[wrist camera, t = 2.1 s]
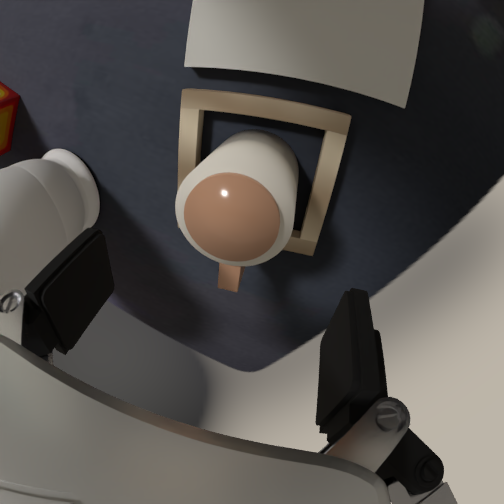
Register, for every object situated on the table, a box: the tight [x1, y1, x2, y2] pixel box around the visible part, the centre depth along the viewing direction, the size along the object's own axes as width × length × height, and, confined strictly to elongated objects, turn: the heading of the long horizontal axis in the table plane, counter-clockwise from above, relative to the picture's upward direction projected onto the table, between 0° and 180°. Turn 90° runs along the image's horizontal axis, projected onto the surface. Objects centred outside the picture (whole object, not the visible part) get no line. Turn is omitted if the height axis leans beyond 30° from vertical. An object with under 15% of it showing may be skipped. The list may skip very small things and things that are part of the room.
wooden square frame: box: [178, 89, 351, 256], centre depth 18 cm, size 10×10×1 cm
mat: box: [184, 0, 424, 109], centre depth 11 cm, size 10×13×1 cm
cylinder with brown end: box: [175, 129, 299, 292], centre depth 16 cm, size 8×6×7 cm
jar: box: [0, 149, 100, 297], centre depth 16 cm, size 11×10×15 cm
